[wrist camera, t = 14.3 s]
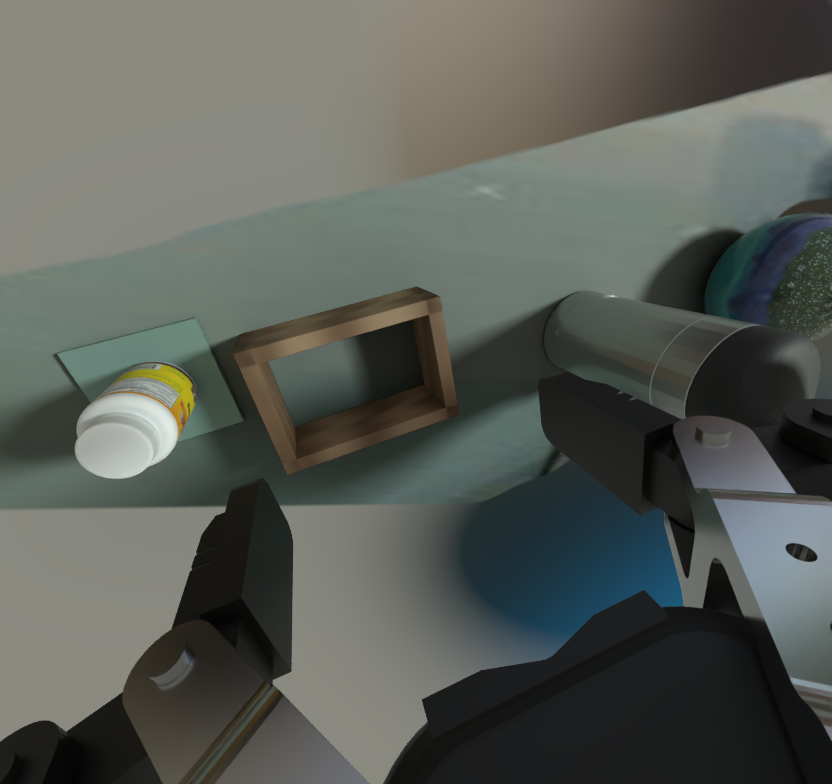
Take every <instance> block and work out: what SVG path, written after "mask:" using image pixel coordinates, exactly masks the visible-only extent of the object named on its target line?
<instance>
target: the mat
mask: <svg viewBox="0 0 832 784" xmlns="http://www.w3.org/2000/svg"><path fill="white" fill-rule="evenodd" d="M57 355H58V356H59V358H60V359H61V361H62V362H63V363H64V365H65V366H66V368H67V369H68V371H69V372H70V374H71V375H72V377H73V378H74V380H75V381H76V382H77V384H78V385H79V387H80V388H81V390H82V391H83V393H84V394H85V396H86V397H87V399H88V400H89V401H90V403H92V402H93V401H94V400H95V399H96V398H97V397H98V396H99V395H100V394H101V393H103V392H104V391H105V390H106V389H107V388H108V387H109V386H110V385H112V384H113V383H114V382H115V381H116V380H117V379H118V378H120V377H121V376H122V375H123V374H124V373H125V372H126V371H128V370H129V369H130V368H132V367H133V366H135V365H137V364H140V363H143V362H148V361H162V362H167V363H171V364H173V365H176V366H178V367H180V368H181V369H183V370H184V371H185V372H186V373H188V374H189V376H190V377H191V378H192V379H193V381H194V383H195V385H196V389H197V400H196V404H195V406H194V408H193V410H192V412H191V415H190V417H189V418H188V421H187V423H186V424H185V427H184V429H183V431H182V433H181V435H180V437H179V439H178V441H177V442H180V441H183V440H186V439H189V438H192V437H196V436H199V435H202V434H205V433H208V432H211V431H215V430H218V429H221V428H224V427H227V426H230V425H234V424H237V423H240V422H243V421H244V417H243V415H242V413H241V411H240V409H239V406H238V404H237V402H236V400H235V398H234V396H233V394H232V392H231V390H230V388H229V386H228V383H227V381H226V379H225V377H224V375H223V373H222V371H221V369H220V367H219V365H218V362H217V360H216V358H215V356H214V354H213V352H212V350H211V348H210V346H209V344H208V342H207V339H206V337H205V335H204V333H203V331H202V329H201V327H200V325H199V323H198V321H197V318H196V317H195V318H191V319H187V320H183V321H179V322H175V323H172V324H168V325H164V326H160V327H156V328H152V329H148V330H144V331H140V332H136V333H132V334H128V335H125V336H121V337H117V338H113V339H109V340H105V341H101V342H97V343H93V344H89V345H85V346H81V347H78V348H74V349H70V350H66V351H62V352H59V353H57Z"/></svg>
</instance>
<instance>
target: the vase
mask: <svg viewBox="0 0 832 784" xmlns="http://www.w3.org/2000/svg"><path fill="white" fill-rule="evenodd" d="M704 307H705V312H706V314H707V315H712V316H717V317H723V318H728V319H733V320H738V321H743V322H749V323H754V324H759V325H764V326H769V327H774V328H779V329H785V330H789V331H793V332H796V333H799V334H801V335H803V336H805V337H807V338H808V339H810V340H811V341H812V342H815V341H817V340H818V339H820V338H821V337H823V336H825V335H827V334H828V333H830V332H831V331H832V215H831V214H825V213H803V214H795V215H789V216H785V217H781V218H777V219H774V220H772V221H769V222H767V223H764V224H762V225H760V226H758V227H756V228H754V229H752V230H751V231H749V232H747V233H745V234H744V235H743V236H741V237H740V238H739V239H737V240H736V241H735V242H734V243H733V244H732V245H731V246H730V247H728V249H727V250H726V251H725V252H724V253H723V254H722V256H721V257H720V258H719V260H718V261H717V263H716V264H715V266H714V268H713V270H712V272H711V274H710V276H709V279H708V282H707V285H706V289H705V296H704Z"/></svg>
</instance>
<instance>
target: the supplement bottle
mask: <svg viewBox="0 0 832 784" xmlns="http://www.w3.org/2000/svg"><path fill="white" fill-rule="evenodd" d="M196 400H197V389H196V385H195V383H194V381H193V379H192V378H191V377H190V376H189V374H188V373H186V372H185V371H184V370H183V369H181V368H180V367H178V366H176V365H173V364H171V363H167V362H162V361H148V362H143V363H140V364H137V365H135V366H133V367H132V368H130V369H129V370H128V371H126V372H125V373H124V374H123V375H122V376H121V377H120V378H118V379H117V380H116V381H115V382H114V383H113V384H112V385H110V386H109V387H108V388H107V389H106V390H105V391H104V392H103V393H101V394H100V395H99V396H98V397H97V398H96V399H95V400H94V401H93V402H92V403H90V404H89V405H88V406H87V407H86V409H85V410H84V411H83V412H82V414H81V415H80V417H79V419H78V423H77V437H78V439H77V441H76V444H75V455H76V457H77V459H78V461H79V462H80V464H81V465H82V466H83V467H84V468H85V469H87V470H88V471H89V472H91V473H93V474H95V475H98V476H101V477H105V478H111V479H122V478H128V477H132V476H135V475H137V474H139V473H141V472H142V471H144V470H145V469H146V468H147V467H149V466H151V465H154V464H156V463H158V462H160V461H161V460H163V459H164V458H165V457H167V456H168V455H169V454H170V452H171V451H172V450H173V448H174V447H175V445H176V443H177V441H178V439H179V437H180V435H181V433H182V431H183V429H184V427H185V424H186V423H187V421H188V418H189V417H190V415H191V412H192V410H193V408H194V406H195V404H196Z"/></svg>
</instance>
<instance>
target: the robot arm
mask: <svg viewBox="0 0 832 784" xmlns="http://www.w3.org/2000/svg"><path fill="white" fill-rule="evenodd" d="M544 347H545V351H546V354H547V356H548V358H549V360H550V361H551V362H552V363H553V364H555V365H556V366H558V367H560V368H562V369H564V370H566V371H562V372H559V373H556V374H553V375H551V376H548V377H545V378H542V379H541V380H540V381H539V384H538V390H539V401H540V412H541V423H542V428H543V431H544V434H545V436H546V437H547V439H548V440H549V442H550V443H551V444H552V445H554V446H555V447H556V448H557V449H558V450H560V451H561V452H562V453H563V454H565V455H566V456H567V457H568V458H570V459H571V460H572V461H573V462H575V463H576V464H577V465H578V466H579V467H581V468H582V469H583V470H584V471H586V472H587V473H588V474H589V475H591V476H592V477H593V478H594V479H596V480H597V481H598V482H599V483H600V484H602V485H603V486H604V487H606V488H607V489H608V490H609V491H610V492H612V493H613V494H614V495H615V496H617V497H618V498H619V499H620V500H621V501H623V502H624V503H625V504H626V505H628V506H629V507H630V508H631V509H633V510H634V511H635V512H636V513H637V514H639V515H640V516H641V515H643V514H646V513H648V512H650V511H652V510H655V509H657V508H660V509H661V510H663V511H664V512H665V517H664V524H665V528H666V532H667V536H668V539H669V543H670V547H671V551H672V555H673V559H674V562H675V566H676V570H677V574H678V577H679V582H680V585H681V590H682V595H683V604H684V606H677V607H660V606H659V605H658V604H657V603H656V602H655V601H654V600H653V599H652V598H651V597H650V596H649V595H648V594H647V593H646V592H645V591H644V590H643V591H641V592H639V593H637V594H636V595H633V596H631V597H629V598H627V599H625V600H623V601H621V602H619V603H617V604H615V605H613V606H611V607H609V608H607V609H605V610H603V611H601V612H599V613H597V614H595V615H593V616H592V617H591V619H590V620H589V621H587V622H586V623H585V624H584V625H583V626H582V627H581V628H580V629H579V630H578V631H577V632H576V633H575V634H574V635H573V636H572V637H571V638H570V639H569V641H567V642H566V643H565V644H564V645H563V646H562V647H561V648H560V649H559V650H558V651H557V652H556V653H555V654H554V655H553V656H552V657H550V658H548V659H546V660H541V661H536V662H529V663H523V664H517V665H511V666H505V667H499V668H493V669H487V670H481V671H479V672H477V673H475V674H473V675H471V676H469V677H467V678H465V679H463V680H461V681H459V682H457V683H455V684H453V685H451V686H449V687H447V688H444V689H442V690H441V691H438V692H436V693H434V694H432V695H430V696H428V697H426V698H424V699H422V702H423V706H424V709H425V713H426V717H427V720H428V722H427V723H426V724H425V725H424V726H423V727H422V728H421V729H420V730H419V731H418V732H417V733H416V734H415V735H414V736H413V738H412V739H411V740H410V741H409V742H408V743H407V745H406V746H405V747H404V749H403V750H402V752H401V753H400V755H399V757H398V758H397V760H396V761H395V763H394V764H393V766H392V768H391V770H390V772H389V774H388V776H387V778H386V779H385V781H384V783H383V784H832V400H830V399H814V397H815V394H816V390H817V386H818V382H819V376H820V358H819V353H818V350H817V348H816V346H815V345H814V344H813V342H812V341H811V340H810V339H808V338H807V337H805V336H803V335H801V334H799V333H796V332H793V331H789V330H785V329H779V328H774V327H769V326H764V325H759V324H754V323H749V322H743V321H738V320H733V319H728V318H723V317H717V316H712V315H707V314H702V313H697V312H692V311H687V310H682V309H677V308H672V307H667V306H662V305H657V304H652V303H647V302H642V301H637V300H632V299H627V298H622V297H618V296H613V295H607V294H602V293H597V292H592V291H581V292H577V293H575V294H572V295H570V296H569V297H567V298H566V299H564V300H563V301H562V302H561V303H560V304H559V305H558V306H557V307H556V309H555V310H554V311H553V313H552V315H551V316H550V318H549V320H548V323H547V326H546V329H545V334H544ZM196 552H197V555H196V556H195V558H194V561H193V564H192V571H190V573H189V576H188V579H187V582H186V586H185V589H184V592H183V595H182V598H181V601H180V604H179V607H178V611H177V614H176V617H175V620H174V623H173V626H172V629H171V630H170V631H168V632H167V633H165V634H164V635H163V636H161V637H160V638H159V639H158V640H156V641H155V642H154V643H153V644H152V645H151V646H150V647H149V648H148V649H147V650H146V651H145V652H144V654H143V655H142V656H141V657H140V659H139V660H138V661H137V663H136V664H135V666H134V667H133V669H132V670H131V672H130V674H129V676H128V678H127V681H126V683H125V686H124V690H123V692H122V693H121V694H119V695H118V696H117V697H115V698H114V699H112V700H111V701H110V702H108V703H107V704H105V705H104V706H102V707H101V708H100V709H98V710H97V711H95V712H94V713H93V714H91V715H90V716H88V717H87V718H85V719H84V720H82V721H81V722H80V723H78V724H77V725H75V726H74V727H72V728H71V729H70V730H68V731H67V732H66V731H64V730H63V729H62V728H60V727H59V726H58V725H56V724H55V723H54V722H51V721H38V722H34V723H32V724H29V725H27V726H25V727H23V728H21V729H19V730H17V731H15V732H14V733H13V734H11V735H9V736H8V737H6V738H5V739H3V740H2V741H1V742H0V784H370V783H369V782H368V781H366V779H365V778H364V777H363V776H362V775H361V774H360V773H359V772H358V771H357V770H356V769H355V768H354V767H353V766H352V765H351V764H350V763H349V762H348V761H347V760H346V759H345V758H344V756H343V755H341V753H339V752H338V751H337V749H336V748H335V747H334V746H333V745H332V744H331V743H330V742H329V741H328V740H327V739H326V738H325V737H324V736H323V735H322V734H321V733H320V732H319V731H318V730H317V729H316V728H315V727H314V726H313V724H311V723H310V721H309V720H308V719H307V718H306V717H305V716H304V715H303V714H302V713H301V712H300V711H299V710H298V709H297V708H296V707H295V706H294V705H293V704H292V703H291V702H290V701H289V700H288V699H287V698H286V697H285V696H284V695H283V693H281V691H280V690H278V689H277V688H276V687H275V686H274V685H273V684H272V681H273V680H274V679H276V678H278V677H280V676H283V675H285V674H287V673H289V672H291V659H292V658H291V657H292V586H293V579H292V578H293V539H292V534H291V530H290V527H289V524H288V522H287V520H286V518H285V516H284V514H283V512H282V510H281V508H280V506H279V504H278V502H277V501H276V499H275V497H274V495H273V493H272V491H271V489H270V487H269V485H268V483H267V482H266V481H265V480H264V479H259V480H256V481H253V482H250V483H248V484H245V485H242V486H239V487H236V488H234V489H232V490H231V492H230V496H229V500H228V503H227V507H226V511H225V513H222V514H220V515H217V516H215V518H214V519H213V520H212V522H211V523H210V524H209V526H208V527H207V528H206V530H205V531H204V533H203V534H202V536H201V539H200V542H199V545H198V548H197V551H196Z"/></svg>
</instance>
